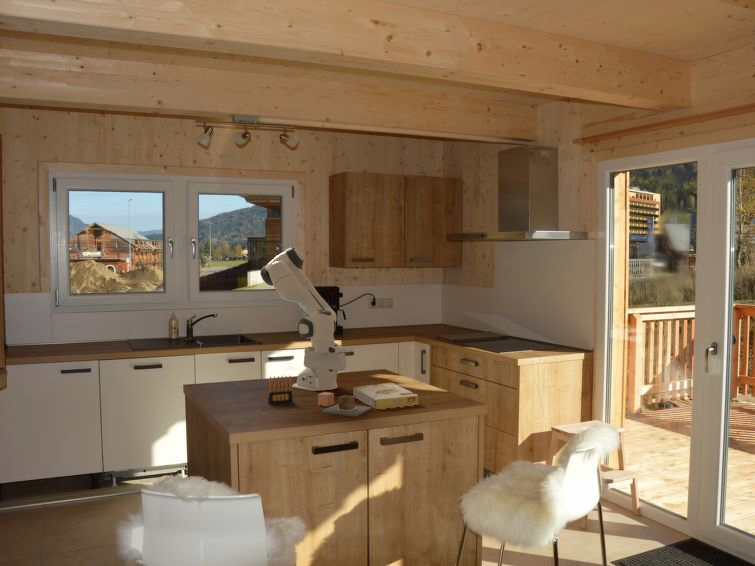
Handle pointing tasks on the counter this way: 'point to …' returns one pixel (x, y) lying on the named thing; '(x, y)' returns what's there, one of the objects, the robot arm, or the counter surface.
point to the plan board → (353, 412)
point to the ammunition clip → (280, 391)
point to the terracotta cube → (326, 399)
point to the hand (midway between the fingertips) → (324, 378)
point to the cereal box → (385, 396)
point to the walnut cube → (346, 402)
